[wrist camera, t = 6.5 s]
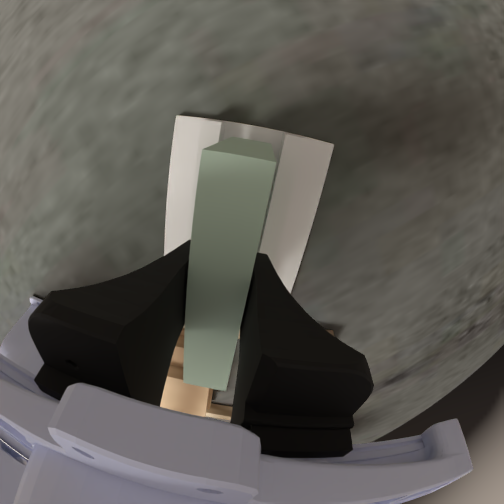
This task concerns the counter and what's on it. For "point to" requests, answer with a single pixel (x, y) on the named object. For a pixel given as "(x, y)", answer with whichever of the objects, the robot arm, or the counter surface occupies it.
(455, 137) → the counter surface
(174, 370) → the offcut stack
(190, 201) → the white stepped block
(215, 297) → the long pale green block
